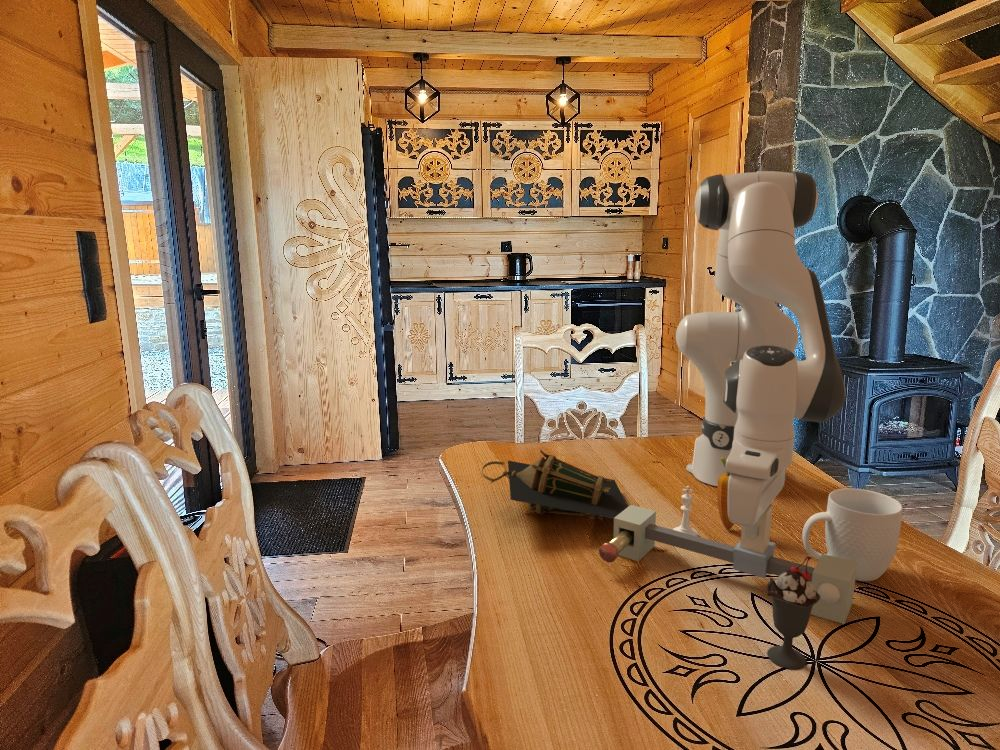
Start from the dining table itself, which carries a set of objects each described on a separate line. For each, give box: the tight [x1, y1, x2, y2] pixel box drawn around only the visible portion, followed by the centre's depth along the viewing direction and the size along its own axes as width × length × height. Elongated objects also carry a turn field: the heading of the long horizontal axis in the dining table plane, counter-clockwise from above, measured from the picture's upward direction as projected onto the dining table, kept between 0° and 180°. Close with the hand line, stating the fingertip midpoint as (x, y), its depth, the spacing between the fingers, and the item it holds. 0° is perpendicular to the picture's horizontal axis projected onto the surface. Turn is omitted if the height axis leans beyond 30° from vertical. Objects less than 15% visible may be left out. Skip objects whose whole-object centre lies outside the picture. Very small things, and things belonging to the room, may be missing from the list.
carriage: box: [732, 503, 776, 579], centre depth 108 cm, size 6×5×11 cm
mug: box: [801, 487, 903, 582], centre depth 112 cm, size 15×11×13 cm
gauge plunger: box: [598, 529, 634, 563], centre depth 116 cm, size 10×3×3 cm, turn 144°
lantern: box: [481, 448, 629, 521], centre depth 136 cm, size 14×23×30 cm
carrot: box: [716, 457, 735, 531], centre depth 128 cm, size 5×5×15 cm
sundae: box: [765, 555, 820, 670], centre depth 90 cm, size 7×7×15 cm
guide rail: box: [612, 504, 857, 625], centre depth 111 cm, size 8×38×7 cm, turn 54°
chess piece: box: [672, 485, 699, 537], centre depth 126 cm, size 5×5×10 cm
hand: (755, 531), depth 108 cm, fingers closed on carriage, 4 cm apart
